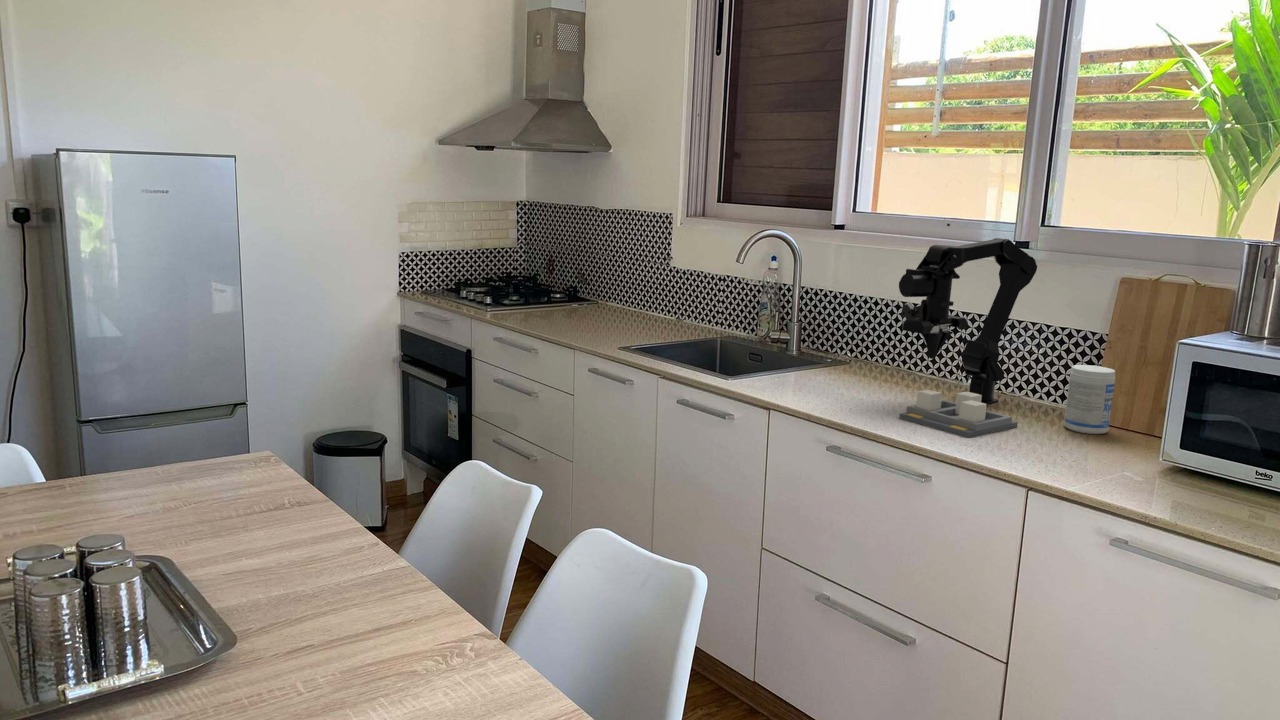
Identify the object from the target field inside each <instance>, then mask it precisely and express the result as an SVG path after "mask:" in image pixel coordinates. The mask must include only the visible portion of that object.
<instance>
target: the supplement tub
mask: <svg viewBox="0 0 1280 720" xmlns="http://www.w3.org/2000/svg"><path fill="white" fill-rule="evenodd" d="M1069 373H1070V374H1069V379H1068V380H1069V381H1068V388H1067V397H1066V403H1065V405H1066V406H1065V413H1064V414H1065V415H1064V421H1063V422H1064V423H1063V424H1064V427H1065V428H1066V429H1068V430H1070V431H1071V432H1076V433H1082V434H1090V435H1101V434H1106V433H1107V432H1108V431H1109V428H1110V427H1109V426H1110V420H1111V413H1112V405H1113V397H1114V391H1115V383H1116V370H1115V369H1113V368H1109V367H1104V366H1099V365H1092V364H1091V365H1089V364H1075V365H1072V366H1071V371H1070V372H1069Z"/></svg>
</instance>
